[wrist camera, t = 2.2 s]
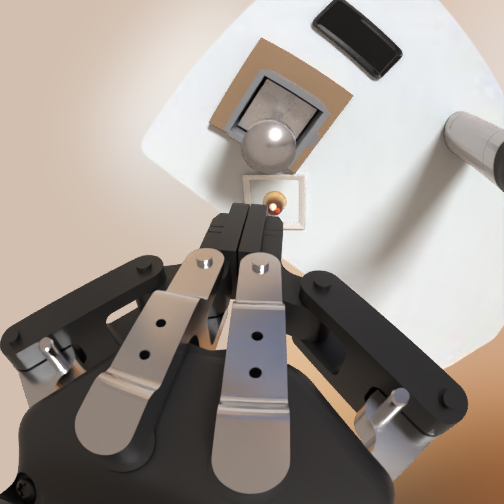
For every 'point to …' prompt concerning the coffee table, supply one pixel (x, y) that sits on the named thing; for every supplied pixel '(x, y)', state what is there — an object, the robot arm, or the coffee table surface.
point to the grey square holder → (293, 80)
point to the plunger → (273, 128)
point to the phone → (358, 37)
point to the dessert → (279, 196)
